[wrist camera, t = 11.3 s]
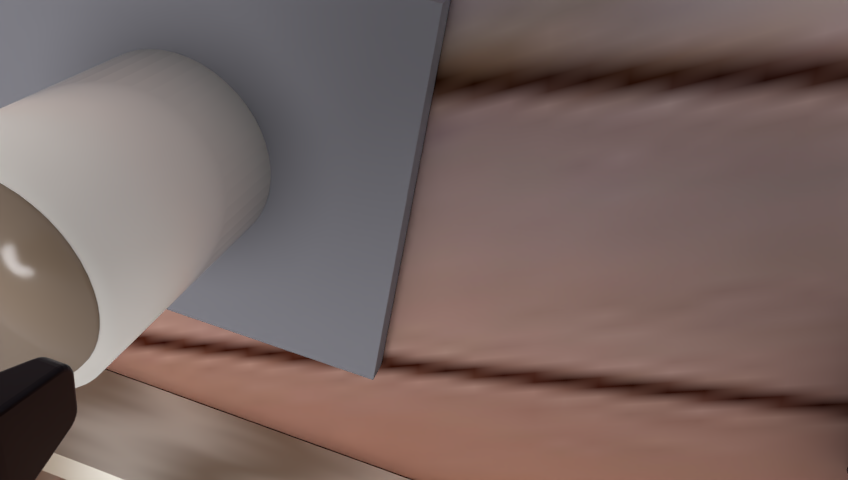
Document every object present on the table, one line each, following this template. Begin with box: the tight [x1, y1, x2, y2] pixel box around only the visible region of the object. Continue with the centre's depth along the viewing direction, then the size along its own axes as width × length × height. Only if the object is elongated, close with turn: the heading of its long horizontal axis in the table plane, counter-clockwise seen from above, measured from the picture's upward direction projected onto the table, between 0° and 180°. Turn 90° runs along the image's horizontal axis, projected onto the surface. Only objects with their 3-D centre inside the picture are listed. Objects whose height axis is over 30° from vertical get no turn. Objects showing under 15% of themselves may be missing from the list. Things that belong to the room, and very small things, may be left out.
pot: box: [0, 49, 271, 388], centre depth 19 cm, size 6×6×7 cm
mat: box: [0, 0, 451, 380], centre depth 22 cm, size 14×12×1 cm
